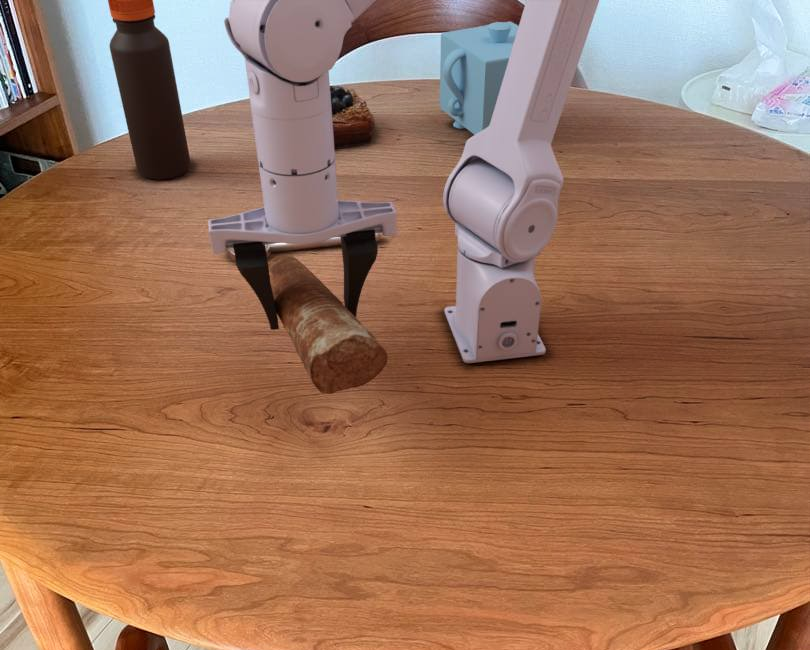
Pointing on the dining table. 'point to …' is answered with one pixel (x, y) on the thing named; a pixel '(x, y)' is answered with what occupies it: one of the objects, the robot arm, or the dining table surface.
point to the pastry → (350, 118)
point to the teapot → (474, 72)
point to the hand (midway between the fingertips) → (312, 318)
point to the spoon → (299, 245)
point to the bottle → (148, 91)
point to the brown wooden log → (323, 329)
